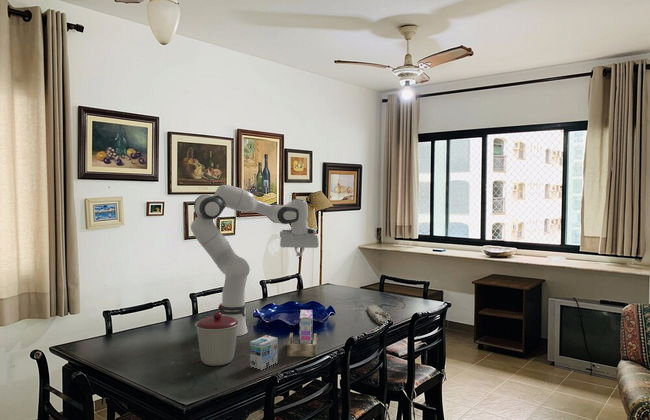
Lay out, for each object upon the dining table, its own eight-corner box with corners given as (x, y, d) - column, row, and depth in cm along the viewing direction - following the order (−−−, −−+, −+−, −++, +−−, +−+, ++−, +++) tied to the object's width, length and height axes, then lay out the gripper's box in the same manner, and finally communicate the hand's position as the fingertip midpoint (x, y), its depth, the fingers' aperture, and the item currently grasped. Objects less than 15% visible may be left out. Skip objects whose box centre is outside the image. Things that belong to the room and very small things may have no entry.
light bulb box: (261, 371, 191) (262, 344, 191) (249, 367, 195) (249, 341, 194) (278, 362, 200) (278, 337, 200) (265, 359, 204) (265, 334, 203)
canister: (198, 372, 189) (198, 320, 187) (192, 357, 205) (192, 308, 204) (243, 366, 196) (243, 315, 195) (234, 351, 212) (234, 305, 211)
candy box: (311, 354, 210) (312, 317, 210) (298, 354, 210) (298, 317, 210) (312, 343, 224) (312, 309, 223) (299, 343, 224) (300, 309, 223)
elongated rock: (379, 311, 289) (363, 312, 287) (379, 302, 289) (363, 304, 287) (395, 325, 254) (377, 326, 253) (395, 315, 254) (377, 317, 253)
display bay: (287, 356, 208) (287, 344, 207) (290, 343, 224) (290, 332, 224) (315, 356, 208) (315, 345, 207) (316, 343, 224) (316, 333, 224)
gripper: (279, 230, 247) (279, 256, 248) (318, 230, 247) (318, 257, 248) (280, 229, 254) (280, 254, 254) (318, 229, 254) (318, 255, 254)
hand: (299, 255), depth 251 cm, fingers closed
